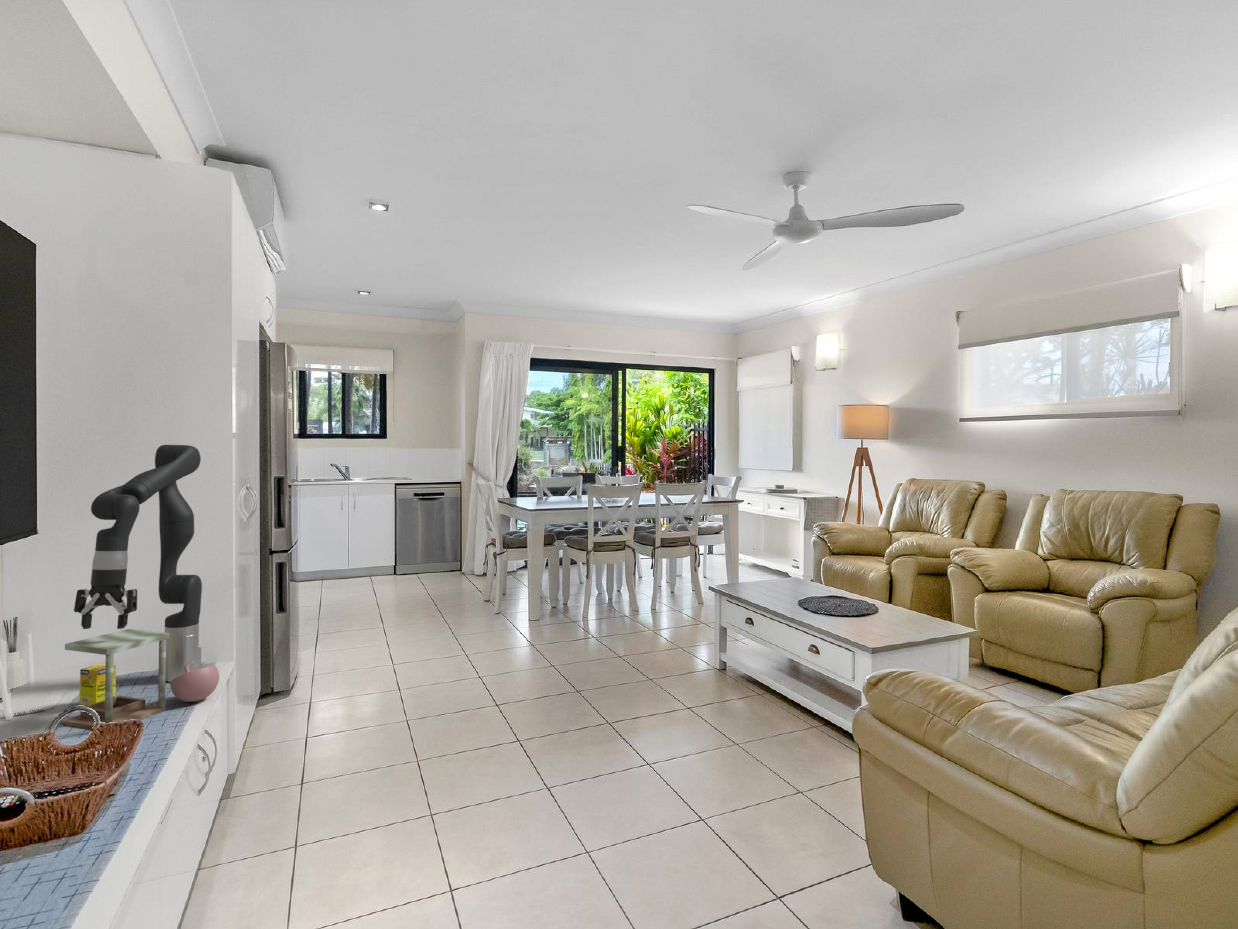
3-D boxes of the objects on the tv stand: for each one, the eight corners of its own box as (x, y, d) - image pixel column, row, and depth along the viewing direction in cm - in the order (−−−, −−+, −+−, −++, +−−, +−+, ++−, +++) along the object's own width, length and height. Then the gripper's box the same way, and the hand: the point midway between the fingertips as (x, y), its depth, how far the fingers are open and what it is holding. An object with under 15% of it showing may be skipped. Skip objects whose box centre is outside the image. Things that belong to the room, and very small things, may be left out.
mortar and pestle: (202, 691, 199) (203, 653, 199) (227, 697, 193) (228, 659, 193) (160, 704, 188) (161, 664, 188) (186, 711, 183) (187, 670, 183)
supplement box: (96, 709, 183) (96, 670, 183) (78, 707, 184) (79, 669, 184) (116, 702, 189) (116, 664, 189) (99, 700, 190) (99, 662, 190)
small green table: (125, 702, 188) (126, 628, 188) (168, 709, 184) (169, 633, 184) (60, 725, 172) (62, 643, 172) (105, 733, 167) (106, 649, 167)
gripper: (146, 567, 181) (140, 626, 180) (90, 566, 180) (84, 626, 178) (129, 568, 174) (123, 630, 172) (71, 568, 172) (64, 630, 171)
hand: (103, 628), depth 175 cm, fingers open, 8 cm apart
